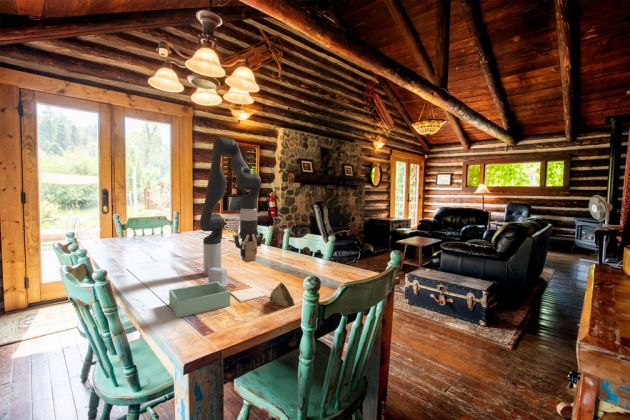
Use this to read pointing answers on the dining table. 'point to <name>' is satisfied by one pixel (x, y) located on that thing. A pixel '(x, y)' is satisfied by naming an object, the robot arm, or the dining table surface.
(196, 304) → the box frame
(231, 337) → the dining table surface
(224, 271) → the medicine box
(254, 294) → the plate
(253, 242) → the oak block
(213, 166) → the robot arm
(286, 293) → the rock
